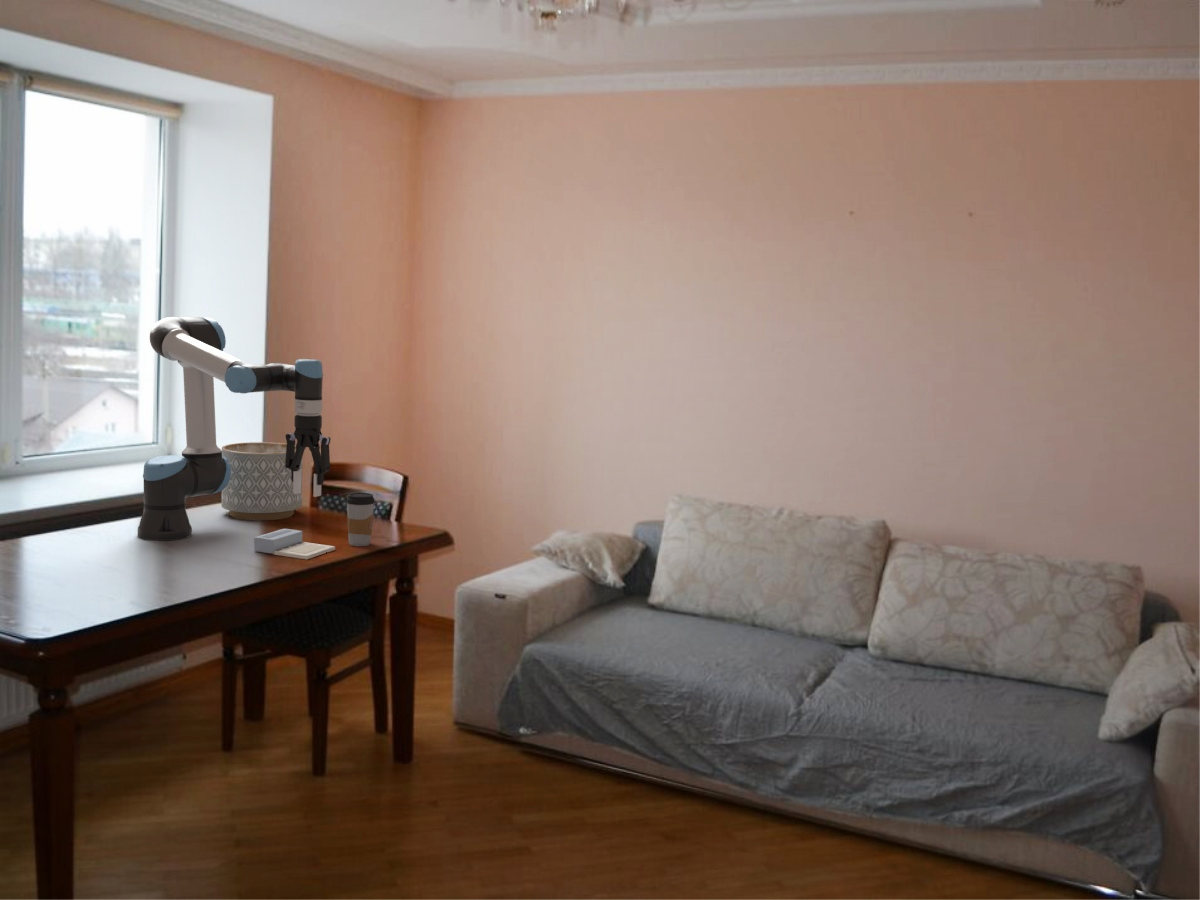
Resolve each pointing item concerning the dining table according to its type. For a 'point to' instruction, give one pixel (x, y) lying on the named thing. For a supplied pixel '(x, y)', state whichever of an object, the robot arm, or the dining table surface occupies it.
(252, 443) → the planter
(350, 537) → the coffee cup
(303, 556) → the cream rectangular plate
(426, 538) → the dining table surface
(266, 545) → the grey slotted block
